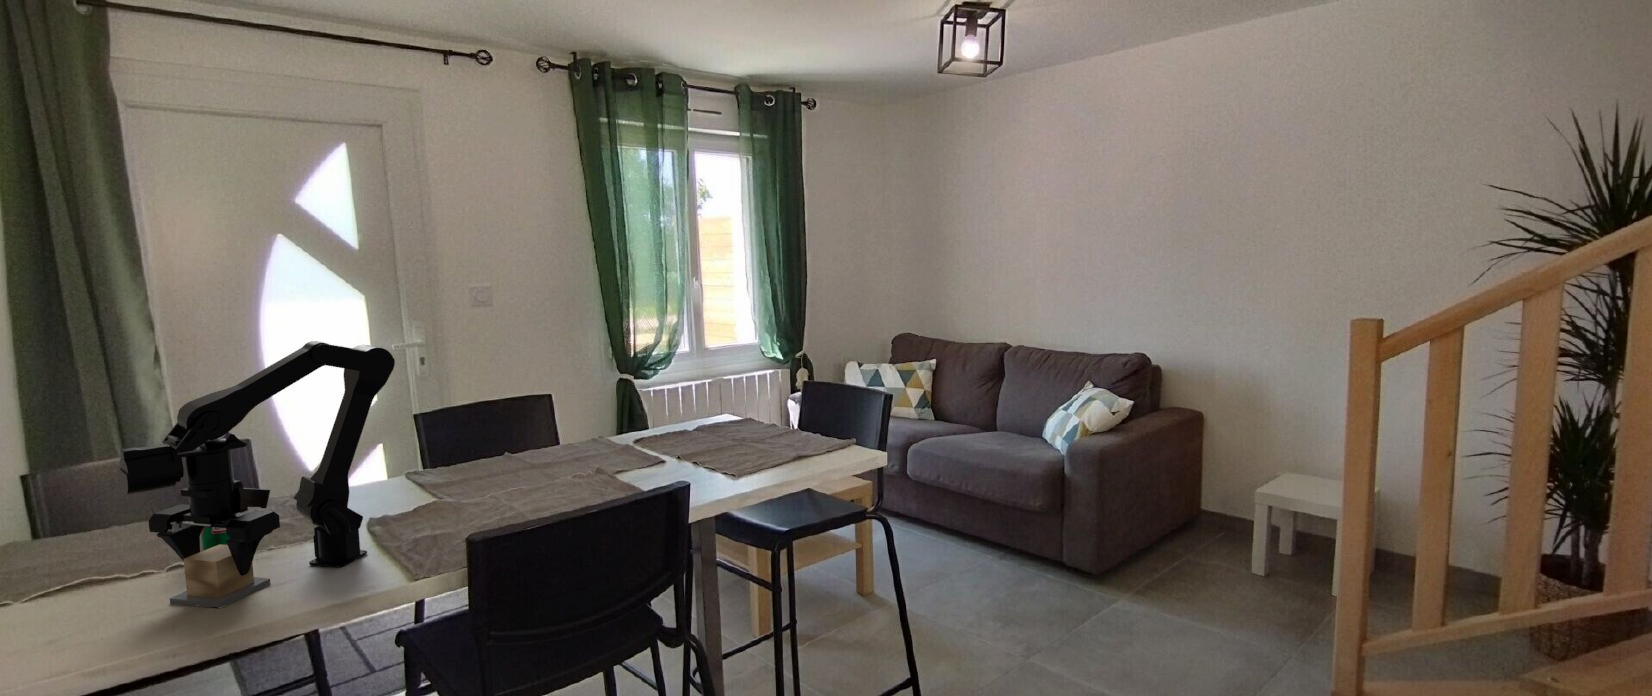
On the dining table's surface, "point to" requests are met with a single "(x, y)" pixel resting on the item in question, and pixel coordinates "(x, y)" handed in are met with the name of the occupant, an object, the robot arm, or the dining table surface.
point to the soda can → (213, 537)
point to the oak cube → (214, 573)
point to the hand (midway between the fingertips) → (220, 572)
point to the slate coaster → (222, 601)
